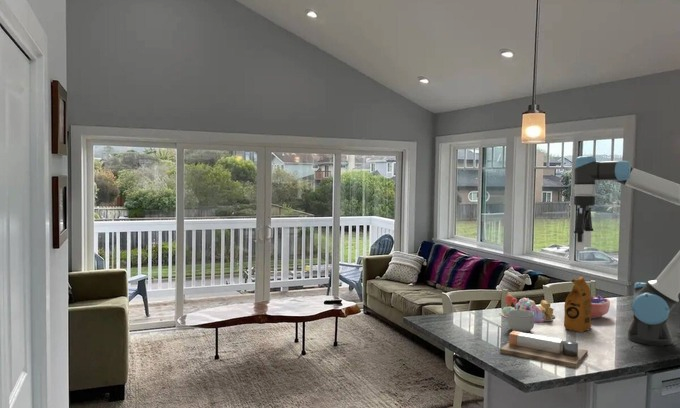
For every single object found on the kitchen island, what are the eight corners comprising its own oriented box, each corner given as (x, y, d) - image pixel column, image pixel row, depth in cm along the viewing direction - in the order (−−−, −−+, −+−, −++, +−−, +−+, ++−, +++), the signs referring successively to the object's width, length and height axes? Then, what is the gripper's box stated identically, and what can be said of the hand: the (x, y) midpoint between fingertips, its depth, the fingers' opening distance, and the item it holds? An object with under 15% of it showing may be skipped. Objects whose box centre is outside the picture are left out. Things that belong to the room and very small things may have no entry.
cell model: (618, 317, 240) (619, 293, 240) (595, 324, 229) (596, 298, 228) (584, 310, 254) (584, 287, 254) (560, 315, 243) (561, 292, 242)
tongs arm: (560, 352, 184) (561, 341, 184) (559, 354, 182) (559, 342, 182) (511, 342, 195) (511, 332, 194) (509, 344, 193) (509, 333, 193)
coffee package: (559, 328, 221) (560, 278, 220) (571, 323, 229) (572, 274, 229) (583, 333, 214) (584, 281, 213) (594, 328, 222) (595, 277, 221)
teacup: (535, 335, 211) (536, 316, 210) (508, 333, 213) (508, 314, 213) (530, 326, 224) (530, 308, 224) (504, 324, 226) (504, 306, 226)
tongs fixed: (579, 354, 183) (579, 342, 182) (575, 357, 179) (576, 345, 178) (513, 341, 197) (513, 330, 197) (508, 344, 193) (509, 333, 193)
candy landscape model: (551, 312, 251) (551, 293, 251) (560, 325, 228) (560, 304, 228) (498, 309, 257) (498, 291, 256) (501, 321, 234) (501, 301, 233)
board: (587, 354, 187) (587, 350, 187) (576, 368, 173) (576, 363, 173) (516, 341, 203) (516, 337, 203) (500, 352, 188) (500, 348, 188)
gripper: (580, 195, 216) (580, 245, 216) (567, 195, 196) (566, 251, 196) (600, 195, 211) (599, 246, 212) (588, 195, 191) (587, 252, 192)
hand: (583, 248), depth 204 cm, fingers open, 13 cm apart
